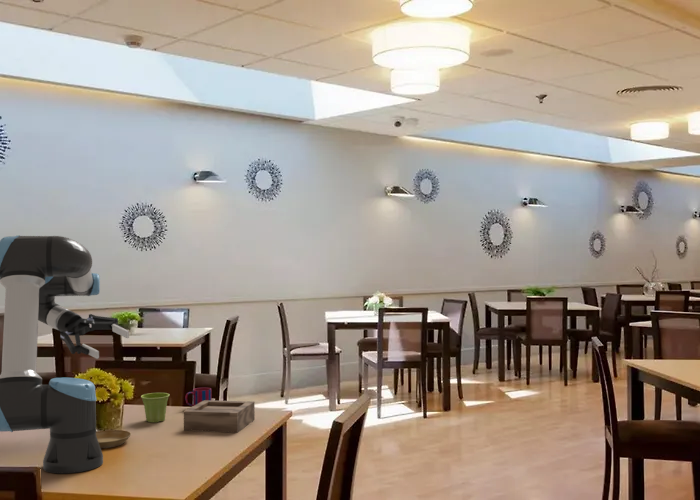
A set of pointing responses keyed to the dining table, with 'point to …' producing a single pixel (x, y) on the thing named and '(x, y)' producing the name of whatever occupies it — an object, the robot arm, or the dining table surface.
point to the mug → (199, 395)
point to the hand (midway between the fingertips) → (113, 344)
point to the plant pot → (155, 406)
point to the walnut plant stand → (219, 416)
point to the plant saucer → (112, 438)
